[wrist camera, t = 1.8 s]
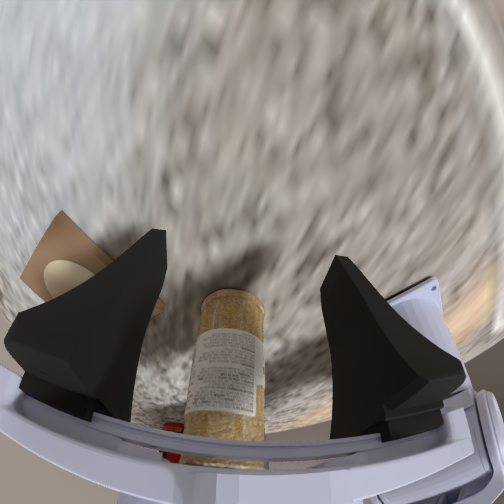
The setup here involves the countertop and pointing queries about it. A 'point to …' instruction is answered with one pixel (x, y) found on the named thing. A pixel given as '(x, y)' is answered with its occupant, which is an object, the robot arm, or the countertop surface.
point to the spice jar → (227, 375)
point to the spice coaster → (65, 261)
